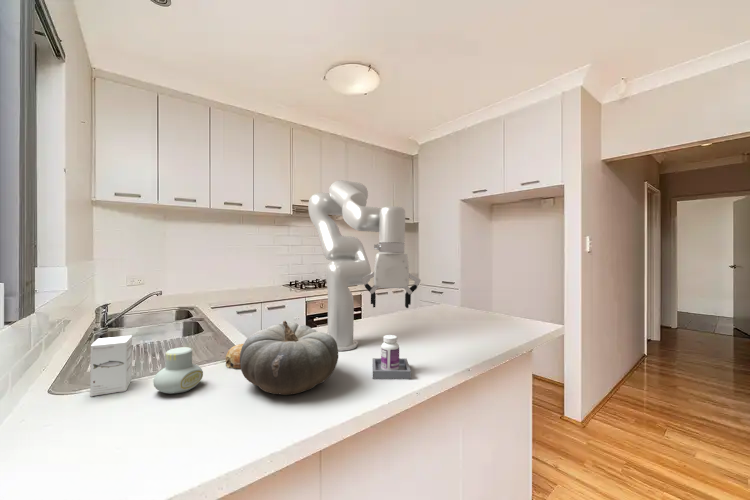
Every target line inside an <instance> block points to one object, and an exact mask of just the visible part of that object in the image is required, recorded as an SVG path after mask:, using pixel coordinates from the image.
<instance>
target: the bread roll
mask: <svg viewBox="0 0 750 500" xmlns="http://www.w3.org/2000/svg"><path fill="white" fill-rule="evenodd" d="M243 344H244V343H239V344H236V345H234V346H232V347H230V348H229V349H228V350H227V353H226V355H225V366H226V368H227V369H235V370H237V369H238V370H241V364H240V352H241V349H242V346H243Z"/></svg>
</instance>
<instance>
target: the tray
mask: <svg viewBox="0 0 750 500" xmlns="http://www.w3.org/2000/svg"><path fill="white" fill-rule="evenodd" d="M409 364H410V363H409V362H408V359H407V358H400V357H399V369H398V370H382V368H381V357H379V358H372V380H412V373H411V372H412V370H411V367H410V365H409Z"/></svg>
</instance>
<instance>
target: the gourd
mask: <svg viewBox="0 0 750 500" xmlns="http://www.w3.org/2000/svg"><path fill="white" fill-rule="evenodd" d="M242 344H243V346H242V349H241V352H240V364H241V369H240V371H241V374H242V375H243V376H244V378H245V380H247V381H248V382H249V383H251V384H252V385H254V386H257V387H259V389H261V390H262V391H263V392H266V393H271V394H273V395H282V396H287V395H297V394H299V393H303V392H305V391H309V390H311V389H313V388H315V386H317V385H320V384H322V383H323V382H325V381H326V380H328V379H329V377H331V375H332V374H333V372H334V371H335V369H336V366H337V364H338V362H339V351H338V347H337V343H336V341H335V339H334V338H333V337H332V336H331V335H329V334H327V332H323V331H318V330H316V329H313V328H312V327H310V326H309V325H305V324H298V323H296V322H293V321H288V320H282V321H281V322H279V323H278V324H273V325H270V326H269V327H266V328H264V329H260V330H257V331H256V332H254V333H252V334H250V335H249V336H248V337H247V338H246V339H245V341H244V342H243V343H242Z"/></svg>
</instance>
